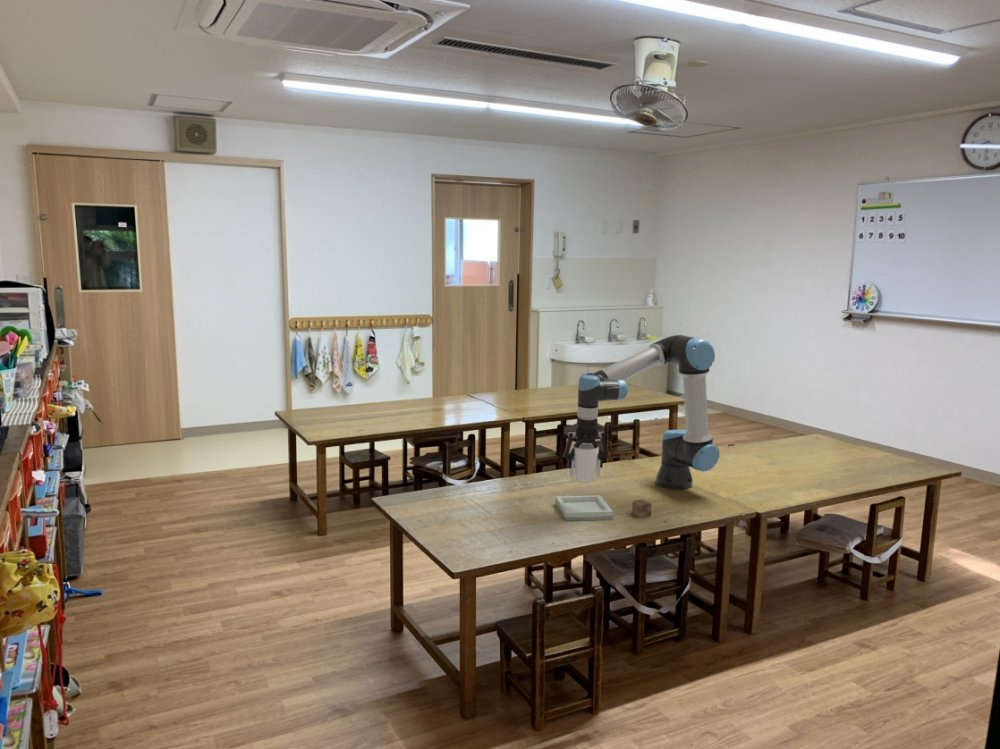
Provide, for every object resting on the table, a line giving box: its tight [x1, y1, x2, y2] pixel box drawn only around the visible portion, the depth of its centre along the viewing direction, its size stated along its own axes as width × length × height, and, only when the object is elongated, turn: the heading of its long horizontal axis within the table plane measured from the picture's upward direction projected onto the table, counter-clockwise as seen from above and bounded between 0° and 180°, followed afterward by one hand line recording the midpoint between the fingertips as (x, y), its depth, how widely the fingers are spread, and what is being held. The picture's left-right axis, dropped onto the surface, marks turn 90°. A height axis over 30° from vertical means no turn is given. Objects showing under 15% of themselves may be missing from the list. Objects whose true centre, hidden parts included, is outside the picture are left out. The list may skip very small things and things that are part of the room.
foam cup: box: [572, 442, 600, 484], centre depth 276 cm, size 10×9×13 cm
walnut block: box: [631, 498, 653, 519], centre depth 277 cm, size 5×5×5 cm
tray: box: [554, 494, 614, 522], centre depth 279 cm, size 18×18×3 cm
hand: (584, 476), depth 277 cm, fingers closed on foam cup, 9 cm apart
